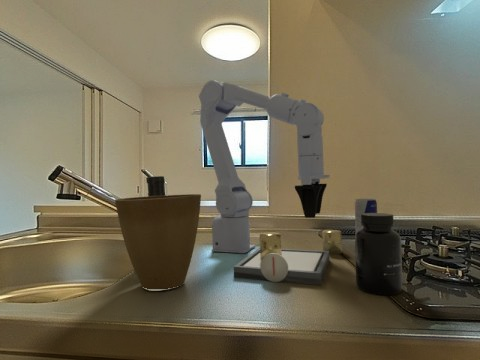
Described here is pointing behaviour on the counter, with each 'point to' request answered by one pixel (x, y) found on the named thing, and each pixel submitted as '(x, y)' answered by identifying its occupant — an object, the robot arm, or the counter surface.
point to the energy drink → (363, 210)
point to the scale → (281, 269)
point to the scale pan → (293, 260)
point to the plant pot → (160, 236)
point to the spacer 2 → (332, 241)
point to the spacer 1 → (270, 244)
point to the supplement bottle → (378, 255)
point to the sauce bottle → (156, 186)
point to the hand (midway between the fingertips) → (312, 215)
